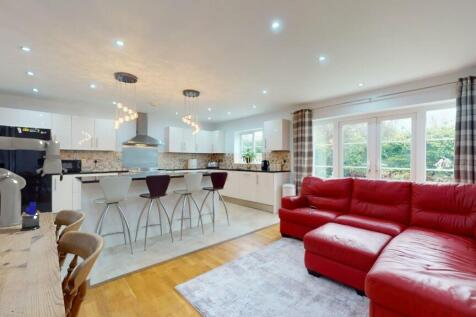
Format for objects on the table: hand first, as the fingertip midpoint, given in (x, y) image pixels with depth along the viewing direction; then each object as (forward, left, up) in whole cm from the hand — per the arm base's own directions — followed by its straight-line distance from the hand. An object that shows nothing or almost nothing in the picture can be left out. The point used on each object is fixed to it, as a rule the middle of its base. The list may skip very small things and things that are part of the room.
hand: (52, 181), depth 160 cm
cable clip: (+1, -19, -19) cm, 27 cm away
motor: (+1, -20, -28) cm, 34 cm away
